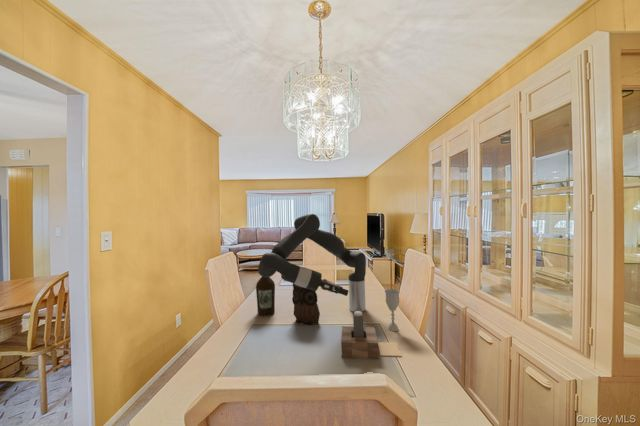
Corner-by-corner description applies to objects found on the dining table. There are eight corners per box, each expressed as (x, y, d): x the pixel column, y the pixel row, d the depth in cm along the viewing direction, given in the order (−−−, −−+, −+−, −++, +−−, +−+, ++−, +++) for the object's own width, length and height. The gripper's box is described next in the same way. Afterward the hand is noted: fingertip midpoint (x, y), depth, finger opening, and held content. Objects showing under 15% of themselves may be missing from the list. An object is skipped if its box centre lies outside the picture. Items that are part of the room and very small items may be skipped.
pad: (377, 343, 111) (377, 342, 111) (396, 343, 110) (396, 342, 110) (380, 356, 101) (380, 355, 101) (401, 356, 100) (401, 355, 100)
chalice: (390, 333, 119) (389, 294, 119) (382, 326, 126) (381, 290, 126) (404, 330, 121) (402, 292, 121) (396, 324, 128) (395, 288, 128)
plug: (354, 346, 109) (353, 310, 109) (363, 346, 108) (362, 310, 108) (354, 351, 105) (353, 314, 105) (364, 351, 104) (363, 314, 104)
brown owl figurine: (320, 324, 131) (319, 285, 130) (296, 328, 127) (295, 287, 127) (314, 315, 143) (313, 279, 143) (291, 318, 139) (290, 281, 139)
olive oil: (257, 310, 152) (256, 268, 152) (275, 309, 154) (274, 267, 154) (255, 317, 142) (254, 272, 142) (275, 316, 143) (274, 270, 143)
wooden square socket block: (342, 339, 114) (342, 326, 114) (374, 340, 113) (374, 327, 113) (341, 357, 100) (341, 342, 100) (378, 358, 99) (378, 343, 99)
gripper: (313, 271, 97) (352, 284, 99) (308, 268, 111) (342, 280, 113) (306, 290, 96) (346, 304, 98) (302, 285, 109) (337, 297, 112)
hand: (344, 291), depth 105 cm, fingers open, 8 cm apart
